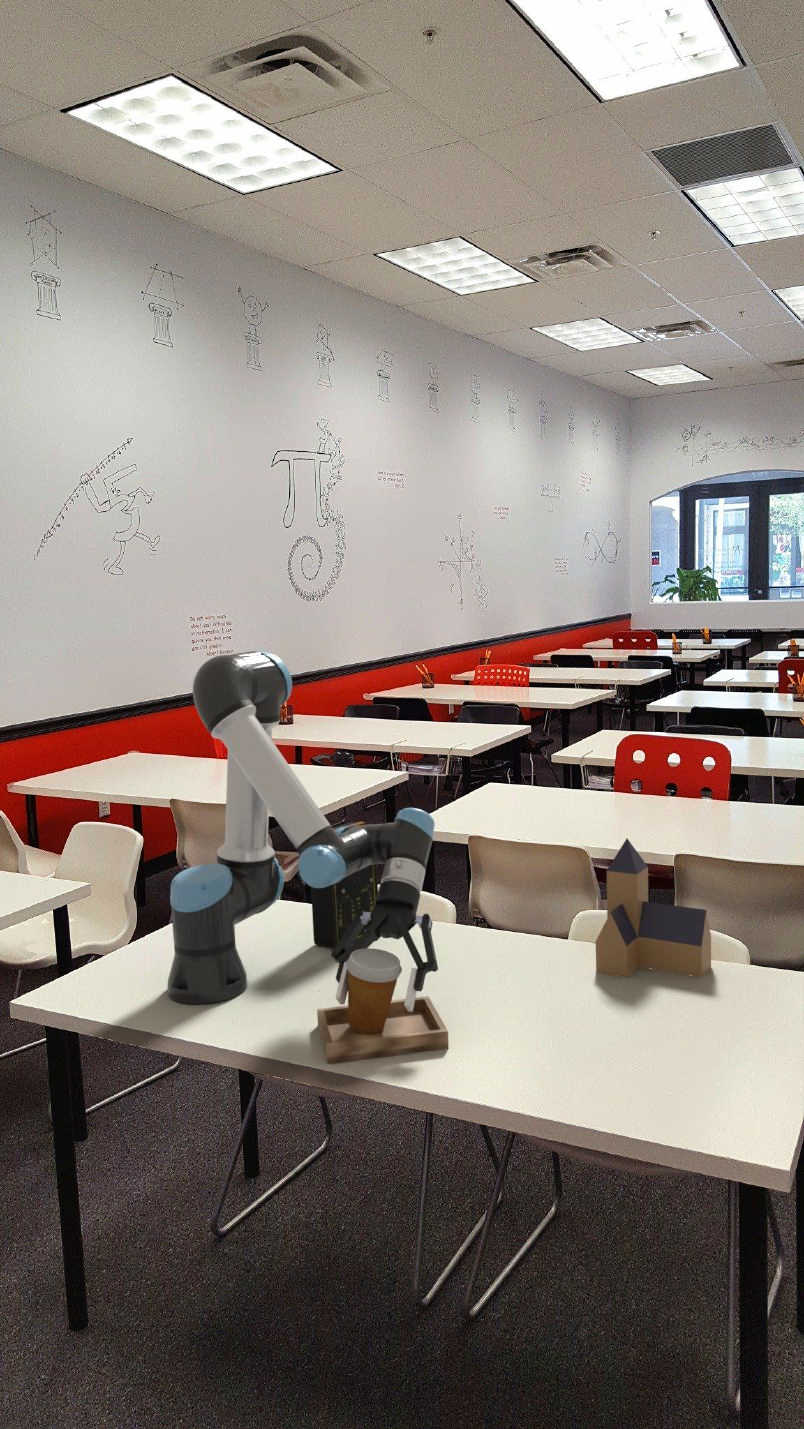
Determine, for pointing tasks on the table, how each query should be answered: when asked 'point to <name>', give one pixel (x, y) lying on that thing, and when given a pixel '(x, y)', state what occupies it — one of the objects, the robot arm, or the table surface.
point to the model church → (648, 926)
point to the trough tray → (383, 1032)
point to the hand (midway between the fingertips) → (373, 1004)
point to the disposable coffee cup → (371, 988)
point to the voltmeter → (343, 903)
